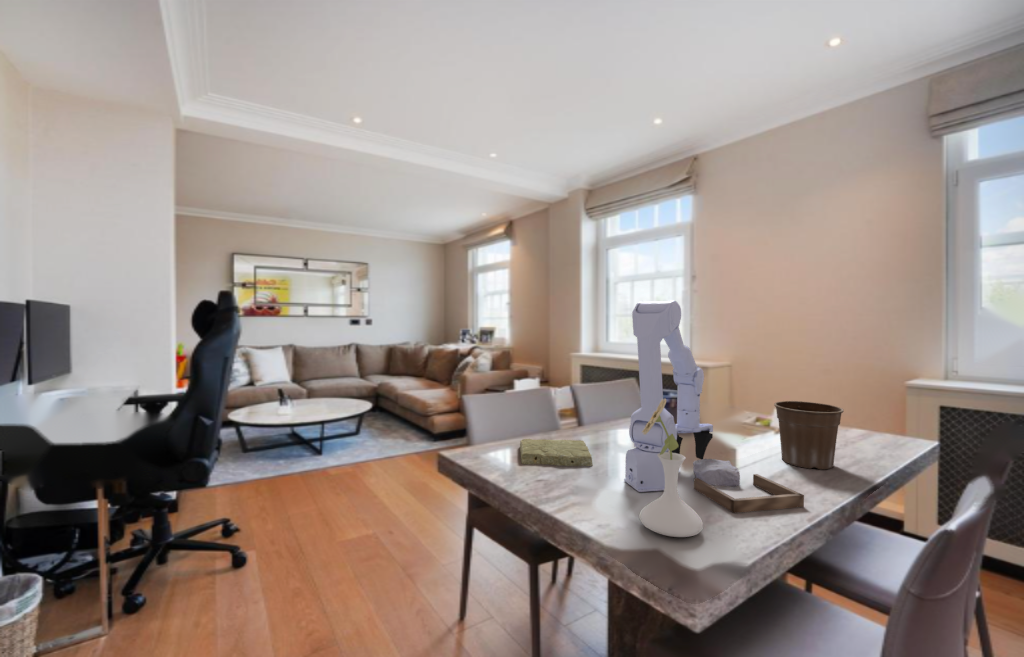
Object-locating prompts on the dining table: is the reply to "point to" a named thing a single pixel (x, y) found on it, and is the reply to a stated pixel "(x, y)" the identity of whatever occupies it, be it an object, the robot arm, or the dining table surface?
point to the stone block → (716, 472)
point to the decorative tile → (555, 452)
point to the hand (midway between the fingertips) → (687, 459)
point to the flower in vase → (669, 493)
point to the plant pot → (808, 433)
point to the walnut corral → (778, 501)
